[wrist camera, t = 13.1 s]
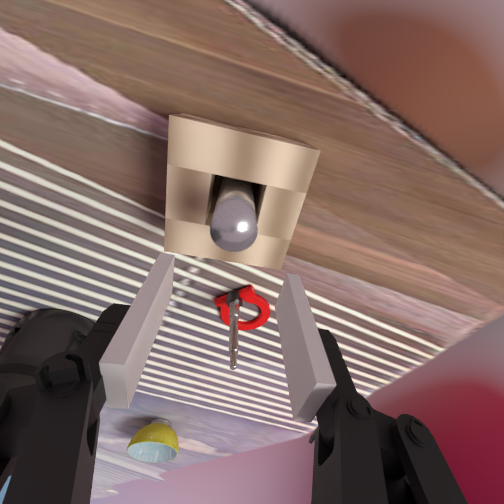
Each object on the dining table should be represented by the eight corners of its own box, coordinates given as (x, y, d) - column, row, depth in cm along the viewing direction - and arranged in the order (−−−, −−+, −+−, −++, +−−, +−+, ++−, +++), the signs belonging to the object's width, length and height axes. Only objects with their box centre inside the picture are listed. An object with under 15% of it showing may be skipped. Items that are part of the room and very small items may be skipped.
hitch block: (176, 228, 33) (164, 251, 28) (183, 113, 26) (168, 114, 21) (274, 245, 35) (280, 269, 30) (306, 142, 28) (320, 150, 23)
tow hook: (276, 316, 43) (256, 280, 38) (288, 391, 32) (263, 354, 27) (233, 330, 45) (209, 297, 40) (232, 406, 34) (198, 374, 29)
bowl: (142, 434, 63) (133, 464, 58) (131, 412, 57) (120, 443, 52) (186, 432, 63) (181, 462, 58) (179, 410, 57) (173, 441, 52)
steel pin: (218, 201, 31) (207, 247, 21) (223, 170, 29) (213, 204, 19) (248, 207, 32) (252, 255, 21) (255, 176, 30) (262, 214, 19)
